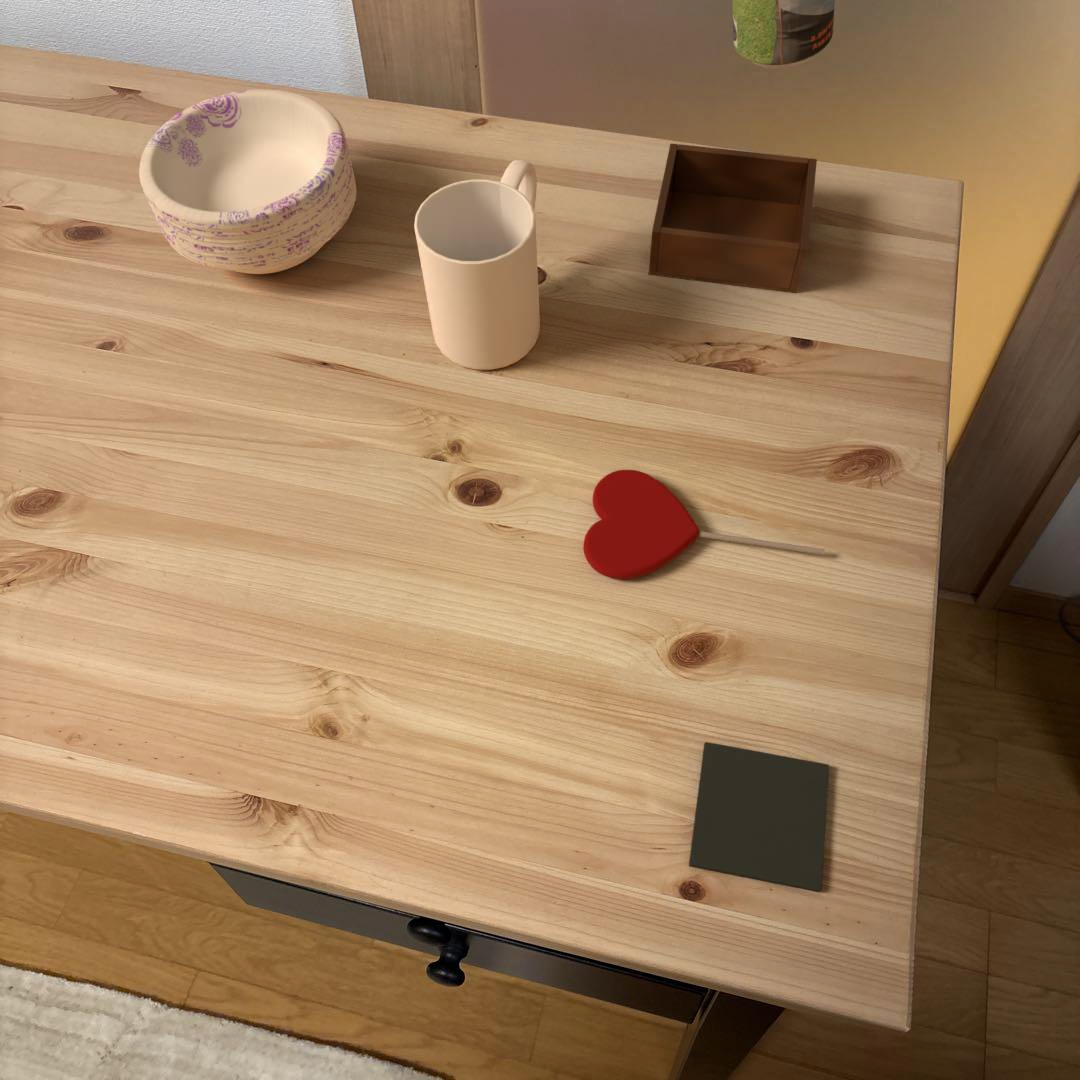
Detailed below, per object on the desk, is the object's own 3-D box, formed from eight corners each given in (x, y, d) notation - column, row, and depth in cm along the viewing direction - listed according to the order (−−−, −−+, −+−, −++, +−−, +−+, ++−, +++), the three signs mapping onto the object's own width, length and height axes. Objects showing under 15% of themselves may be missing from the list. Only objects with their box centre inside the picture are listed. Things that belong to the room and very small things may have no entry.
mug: (512, 385, 71) (503, 277, 62) (414, 352, 73) (392, 243, 64) (579, 271, 77) (580, 156, 68) (487, 243, 79) (475, 127, 70)
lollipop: (825, 502, 65) (598, 470, 67) (828, 494, 65) (598, 462, 66) (819, 612, 61) (577, 575, 63) (822, 605, 61) (577, 568, 62)
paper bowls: (234, 151, 85) (205, 66, 78) (396, 192, 82) (379, 107, 75) (136, 274, 78) (94, 192, 71) (308, 324, 75) (281, 243, 68)
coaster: (827, 766, 57) (829, 764, 56) (819, 892, 53) (821, 891, 53) (704, 743, 58) (704, 741, 57) (688, 866, 54) (689, 864, 54)
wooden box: (805, 203, 80) (817, 158, 76) (796, 293, 75) (808, 249, 71) (666, 187, 81) (670, 142, 77) (648, 274, 76) (651, 231, 73)
